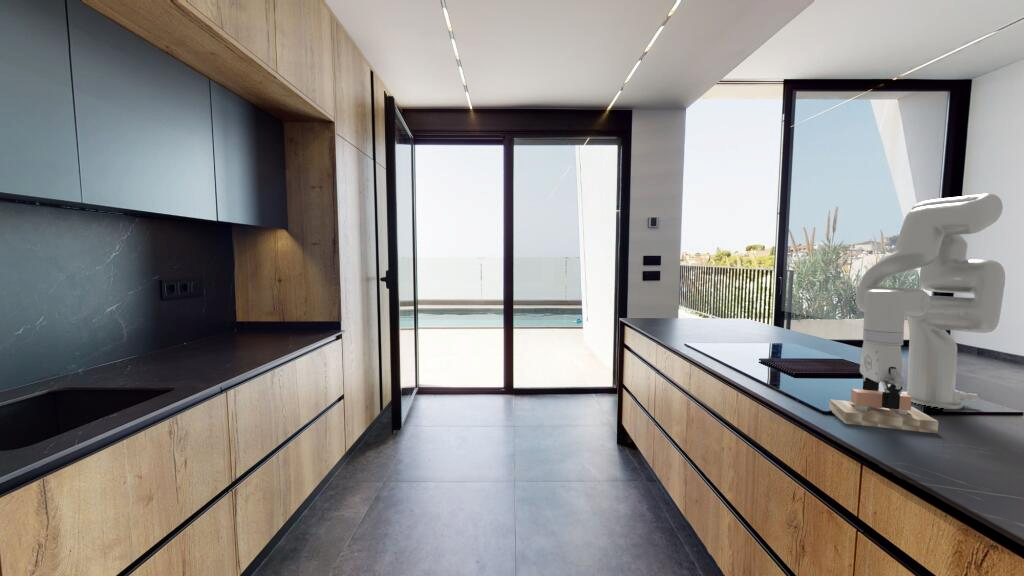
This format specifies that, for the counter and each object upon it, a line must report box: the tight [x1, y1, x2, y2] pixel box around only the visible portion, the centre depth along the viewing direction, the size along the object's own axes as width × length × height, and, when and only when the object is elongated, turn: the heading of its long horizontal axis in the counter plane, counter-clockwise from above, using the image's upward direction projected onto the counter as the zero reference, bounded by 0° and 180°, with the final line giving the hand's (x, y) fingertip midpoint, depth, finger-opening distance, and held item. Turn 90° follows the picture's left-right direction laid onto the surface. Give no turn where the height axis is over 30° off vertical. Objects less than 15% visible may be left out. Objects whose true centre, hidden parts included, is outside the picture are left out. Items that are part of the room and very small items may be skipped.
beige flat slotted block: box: [828, 398, 939, 434], centre depth 100 cm, size 18×10×3 cm, turn 69°
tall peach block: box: [850, 388, 912, 415], centre depth 100 cm, size 11×3×8 cm, turn 69°
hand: (879, 401), depth 100 cm, fingers open, 9 cm apart
